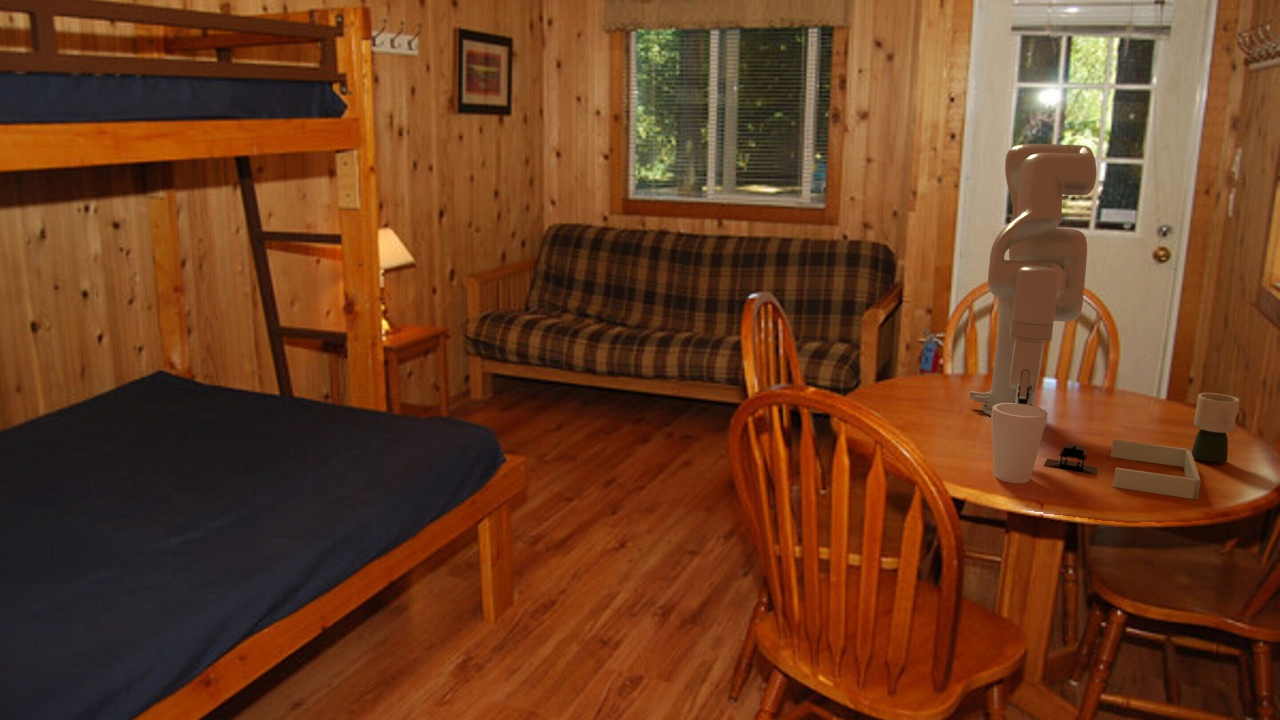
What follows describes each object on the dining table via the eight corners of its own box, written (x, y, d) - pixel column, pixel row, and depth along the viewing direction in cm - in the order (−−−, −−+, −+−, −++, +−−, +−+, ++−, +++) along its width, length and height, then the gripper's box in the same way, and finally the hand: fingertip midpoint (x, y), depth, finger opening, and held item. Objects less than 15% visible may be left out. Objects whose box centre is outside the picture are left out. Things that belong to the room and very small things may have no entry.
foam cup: (996, 485, 180) (1004, 416, 177) (977, 468, 189) (984, 402, 186) (1047, 486, 180) (1056, 417, 177) (1026, 469, 189) (1034, 403, 186)
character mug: (1242, 470, 192) (1253, 405, 188) (1204, 469, 192) (1215, 404, 189) (1212, 452, 202) (1222, 390, 199) (1176, 451, 202) (1186, 389, 199)
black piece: (1034, 469, 191) (1037, 446, 190) (1039, 458, 197) (1041, 436, 196) (1105, 480, 186) (1108, 457, 184) (1107, 469, 192) (1110, 446, 191)
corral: (1113, 486, 181) (1115, 468, 180) (1110, 455, 198) (1113, 439, 197) (1197, 499, 175) (1200, 480, 175) (1187, 466, 193) (1190, 449, 192)
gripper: (1012, 323, 198) (1002, 412, 202) (1007, 335, 185) (997, 430, 188) (1053, 327, 195) (1042, 417, 199) (1051, 339, 182) (1039, 435, 185)
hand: (1020, 423), depth 194 cm, fingers closed
